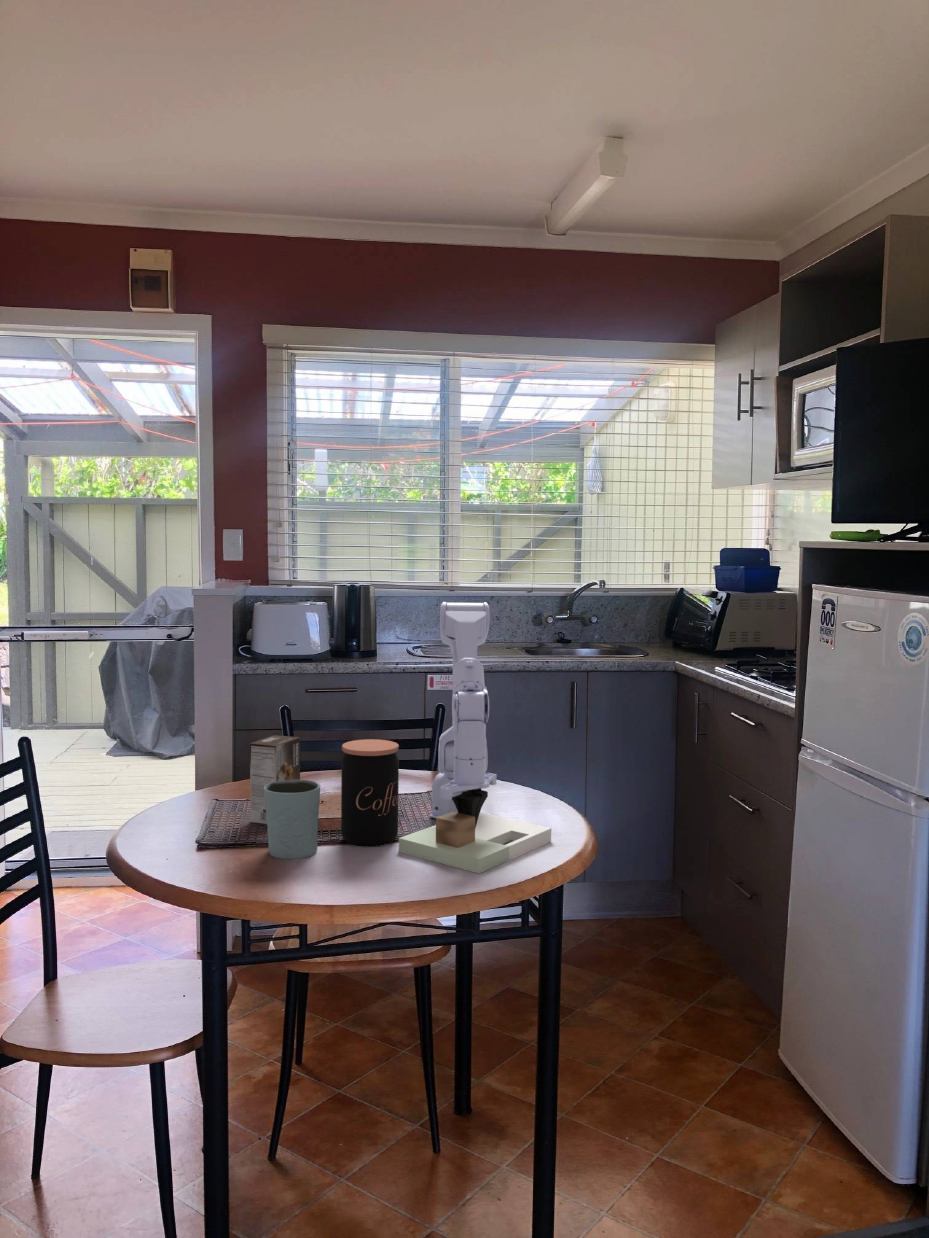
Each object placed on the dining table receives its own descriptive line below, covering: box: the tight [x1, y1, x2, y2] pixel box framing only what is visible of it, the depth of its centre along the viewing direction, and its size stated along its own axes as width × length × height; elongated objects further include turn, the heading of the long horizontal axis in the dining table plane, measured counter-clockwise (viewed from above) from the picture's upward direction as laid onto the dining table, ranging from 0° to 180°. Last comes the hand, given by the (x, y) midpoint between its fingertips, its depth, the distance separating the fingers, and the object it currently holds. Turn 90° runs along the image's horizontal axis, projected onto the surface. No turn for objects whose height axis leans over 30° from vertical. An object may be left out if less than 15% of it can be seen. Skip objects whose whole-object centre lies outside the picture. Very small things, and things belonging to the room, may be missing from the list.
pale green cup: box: [263, 779, 321, 860], centre depth 168 cm, size 10×10×12 cm
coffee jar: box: [340, 738, 400, 848], centre depth 176 cm, size 11×11×18 cm
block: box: [435, 812, 475, 848], centre depth 167 cm, size 5×5×4 cm
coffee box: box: [249, 734, 301, 825], centre depth 188 cm, size 9×6×16 cm
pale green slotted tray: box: [398, 811, 552, 875], centre depth 173 cm, size 18×23×2 cm
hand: (468, 830), depth 171 cm, fingers closed
